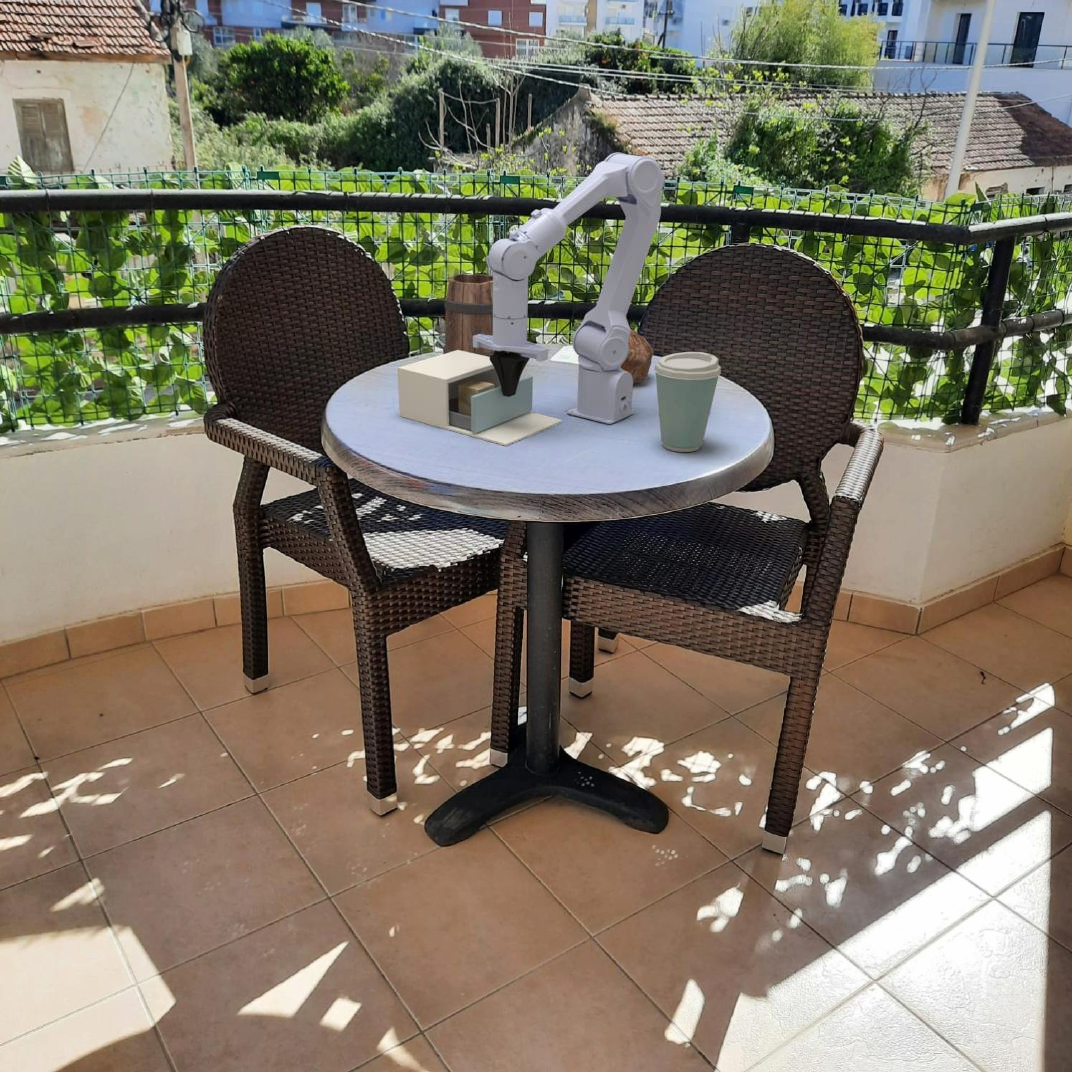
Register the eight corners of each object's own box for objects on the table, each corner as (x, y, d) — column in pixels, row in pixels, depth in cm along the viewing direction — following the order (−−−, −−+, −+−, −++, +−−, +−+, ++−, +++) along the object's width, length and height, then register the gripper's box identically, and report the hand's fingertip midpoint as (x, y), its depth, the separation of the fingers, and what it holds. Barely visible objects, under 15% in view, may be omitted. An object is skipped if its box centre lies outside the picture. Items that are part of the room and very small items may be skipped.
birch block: (494, 411, 171) (494, 384, 169) (478, 417, 168) (478, 390, 166) (474, 406, 174) (474, 379, 172) (458, 412, 170) (458, 385, 168)
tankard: (486, 396, 183) (486, 290, 175) (416, 381, 191) (413, 279, 183) (550, 369, 201) (553, 271, 193) (484, 356, 209) (484, 262, 201)
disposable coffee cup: (669, 460, 155) (677, 369, 148) (636, 439, 164) (642, 351, 157) (725, 452, 159) (735, 362, 152) (690, 431, 167) (698, 346, 161)
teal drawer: (532, 410, 174) (532, 376, 171) (474, 433, 162) (474, 397, 159) (484, 398, 180) (484, 365, 177) (425, 419, 168) (424, 384, 165)
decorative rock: (598, 369, 202) (601, 321, 198) (652, 372, 201) (656, 324, 197) (592, 387, 191) (595, 336, 186) (649, 390, 189) (653, 340, 185)
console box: (562, 422, 171) (563, 373, 167) (506, 446, 159) (506, 394, 155) (458, 395, 183) (457, 349, 180) (399, 416, 172) (397, 367, 168)
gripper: (460, 312, 160) (461, 392, 166) (530, 326, 153) (529, 409, 159) (487, 306, 165) (487, 383, 171) (556, 319, 158) (554, 399, 164)
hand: (509, 395), depth 165 cm, fingers closed
